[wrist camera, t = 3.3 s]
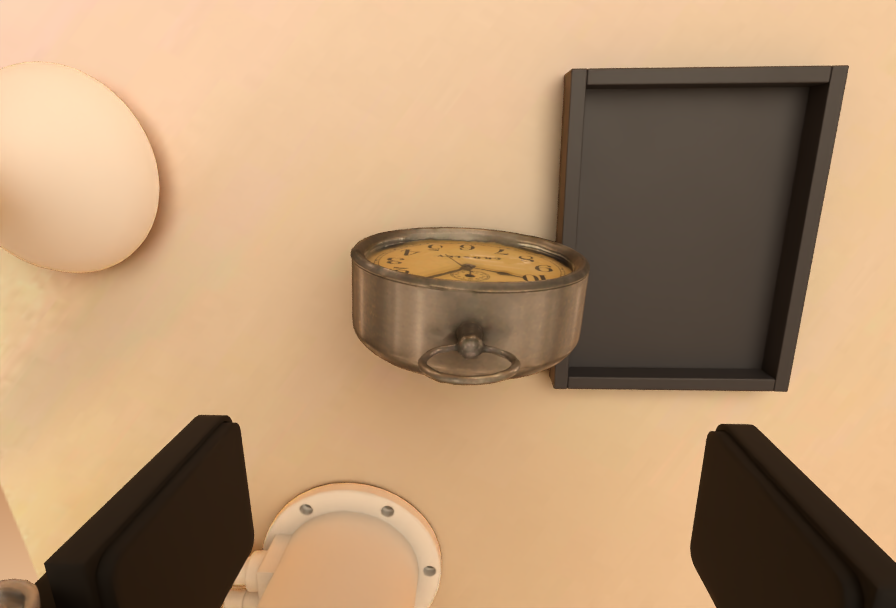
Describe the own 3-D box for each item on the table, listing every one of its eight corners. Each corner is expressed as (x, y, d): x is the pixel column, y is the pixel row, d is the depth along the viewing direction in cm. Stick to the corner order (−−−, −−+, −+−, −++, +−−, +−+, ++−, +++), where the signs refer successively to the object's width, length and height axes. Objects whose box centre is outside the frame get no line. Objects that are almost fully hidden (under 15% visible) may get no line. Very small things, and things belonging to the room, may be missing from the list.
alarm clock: (563, 230, 30) (663, 309, 15) (553, 318, 32) (634, 474, 16) (377, 219, 31) (282, 285, 15) (376, 307, 32) (287, 450, 16)
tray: (548, 375, 33) (553, 389, 31) (564, 74, 28) (571, 68, 26) (768, 378, 32) (787, 392, 30) (823, 71, 28) (849, 65, 26)
